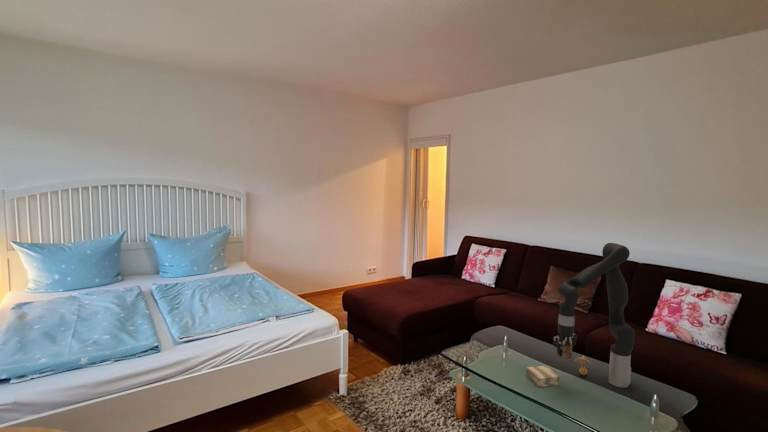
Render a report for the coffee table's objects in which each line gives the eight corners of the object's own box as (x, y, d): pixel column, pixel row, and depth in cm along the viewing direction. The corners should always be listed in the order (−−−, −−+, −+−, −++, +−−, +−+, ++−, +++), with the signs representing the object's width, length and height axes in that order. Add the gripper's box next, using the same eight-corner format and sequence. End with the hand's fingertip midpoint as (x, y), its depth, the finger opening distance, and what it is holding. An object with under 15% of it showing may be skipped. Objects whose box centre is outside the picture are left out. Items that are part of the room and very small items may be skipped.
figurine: (592, 375, 216) (593, 354, 214) (590, 380, 211) (591, 359, 209) (575, 371, 221) (576, 350, 219) (573, 375, 216) (574, 354, 214)
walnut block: (564, 354, 206) (565, 341, 205) (571, 358, 201) (572, 345, 200) (556, 355, 204) (557, 342, 203) (563, 359, 200) (564, 346, 199)
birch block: (546, 374, 218) (546, 365, 218) (559, 385, 207) (559, 376, 206) (526, 375, 217) (526, 367, 216) (538, 387, 205) (538, 378, 204)
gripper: (571, 318, 206) (569, 349, 208) (549, 321, 202) (547, 353, 204) (583, 324, 199) (580, 355, 201) (560, 327, 195) (558, 359, 197)
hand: (564, 354), depth 203 cm, fingers closed on walnut block, 5 cm apart
